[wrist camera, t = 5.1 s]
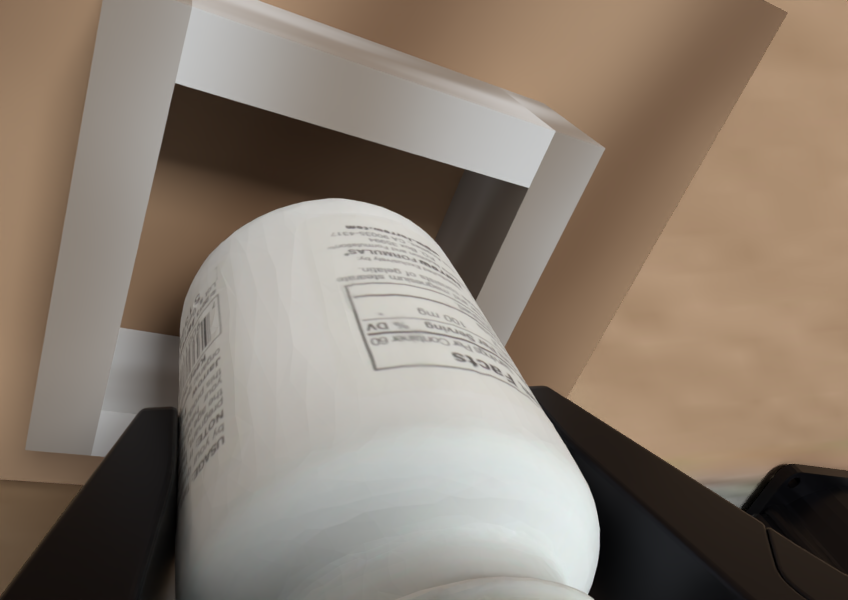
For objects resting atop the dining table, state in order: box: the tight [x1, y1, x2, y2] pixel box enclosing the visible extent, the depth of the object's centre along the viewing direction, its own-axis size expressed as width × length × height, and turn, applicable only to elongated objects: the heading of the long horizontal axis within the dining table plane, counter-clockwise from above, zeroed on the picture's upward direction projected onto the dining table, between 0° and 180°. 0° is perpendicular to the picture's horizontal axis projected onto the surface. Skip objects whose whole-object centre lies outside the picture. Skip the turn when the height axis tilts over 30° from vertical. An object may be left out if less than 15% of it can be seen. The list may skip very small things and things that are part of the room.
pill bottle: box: [175, 198, 600, 600], centre depth 8 cm, size 4×4×8 cm
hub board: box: [0, 0, 787, 485], centre depth 13 cm, size 16×14×4 cm
